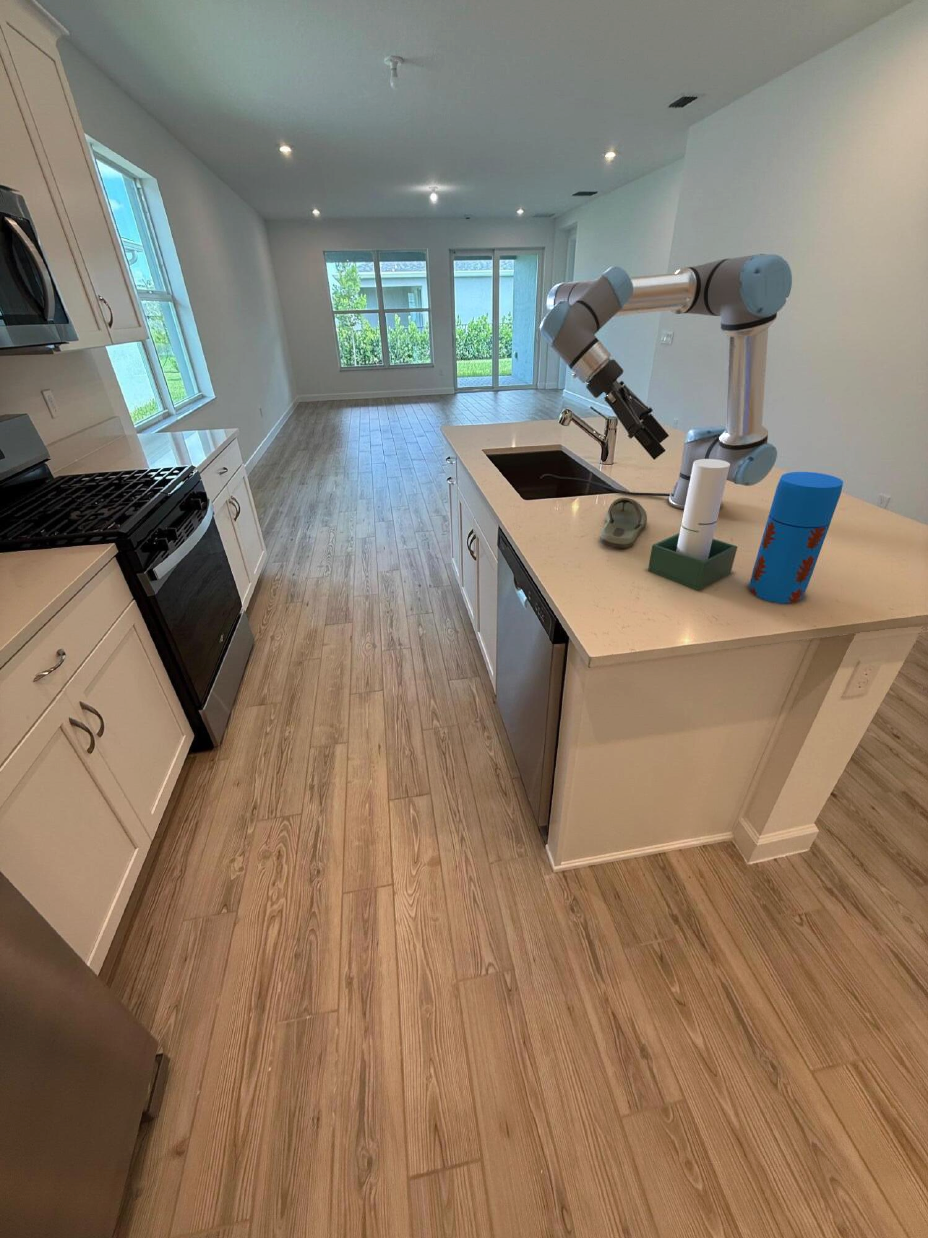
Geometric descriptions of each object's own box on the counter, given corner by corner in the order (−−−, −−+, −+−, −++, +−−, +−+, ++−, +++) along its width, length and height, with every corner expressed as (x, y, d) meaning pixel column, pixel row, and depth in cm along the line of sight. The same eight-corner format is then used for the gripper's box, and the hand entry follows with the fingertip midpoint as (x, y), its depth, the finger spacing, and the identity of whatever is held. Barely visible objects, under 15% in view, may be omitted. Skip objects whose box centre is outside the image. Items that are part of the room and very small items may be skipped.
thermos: (738, 582, 116) (768, 473, 103) (783, 578, 116) (818, 469, 103) (766, 605, 107) (803, 489, 94) (815, 601, 107) (858, 485, 94)
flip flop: (610, 511, 158) (613, 484, 153) (650, 515, 153) (654, 488, 149) (588, 547, 136) (591, 517, 131) (634, 553, 131) (638, 523, 127)
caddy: (647, 570, 123) (652, 544, 119) (680, 554, 129) (685, 529, 126) (698, 590, 114) (704, 563, 110) (730, 572, 120) (737, 546, 116)
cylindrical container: (708, 576, 117) (733, 468, 104) (675, 574, 119) (696, 467, 106) (702, 562, 123) (725, 458, 110) (671, 561, 125) (690, 458, 111)
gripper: (594, 377, 119) (651, 445, 122) (573, 394, 100) (642, 474, 102) (620, 351, 114) (679, 422, 117) (603, 363, 95) (674, 449, 98)
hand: (662, 447), depth 110 cm, fingers open, 13 cm apart
